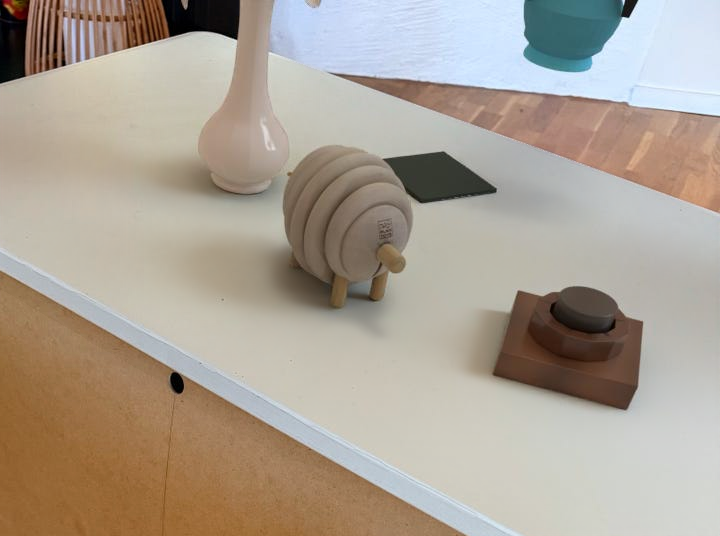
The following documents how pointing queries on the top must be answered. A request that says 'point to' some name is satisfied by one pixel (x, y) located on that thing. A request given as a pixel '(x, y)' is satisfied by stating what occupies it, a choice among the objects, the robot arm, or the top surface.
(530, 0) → the robot arm
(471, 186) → the coaster
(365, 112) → the top surface
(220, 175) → the flower vase
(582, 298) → the button
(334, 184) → the toy sheep
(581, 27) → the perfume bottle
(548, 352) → the button block
